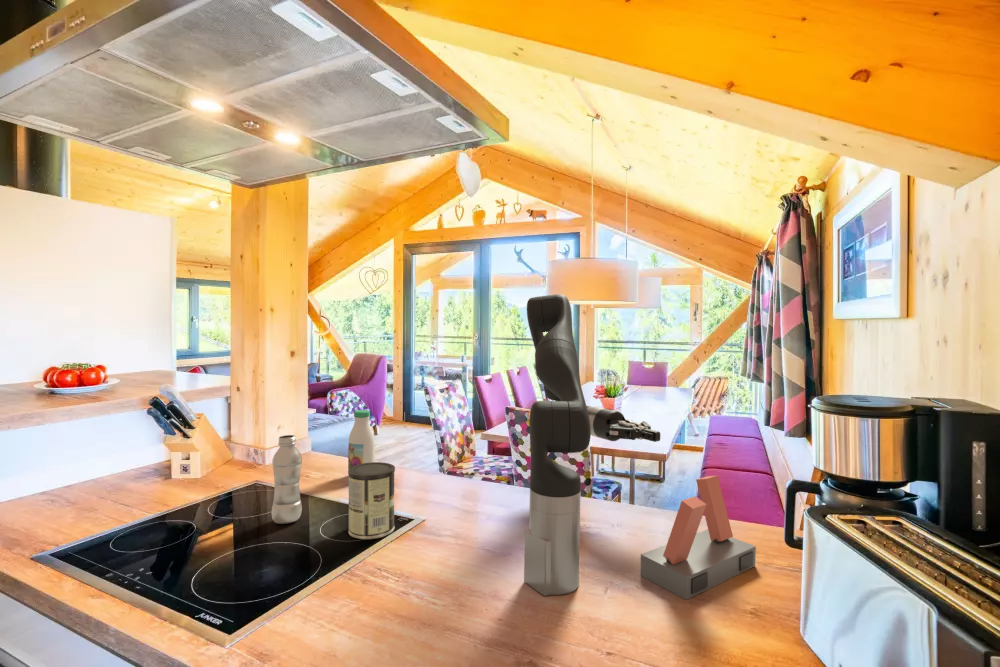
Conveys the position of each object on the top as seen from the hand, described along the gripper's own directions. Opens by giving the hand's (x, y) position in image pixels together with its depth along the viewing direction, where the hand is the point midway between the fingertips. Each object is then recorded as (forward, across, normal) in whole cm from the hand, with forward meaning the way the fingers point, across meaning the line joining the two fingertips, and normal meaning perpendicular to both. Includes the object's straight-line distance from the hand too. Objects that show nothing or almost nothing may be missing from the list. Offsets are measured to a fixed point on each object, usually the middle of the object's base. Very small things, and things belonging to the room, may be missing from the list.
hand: (658, 436), depth 114 cm
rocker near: (+16, -15, +17) cm, 28 cm away
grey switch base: (+16, -8, +22) cm, 28 cm away
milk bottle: (-75, -43, +22) cm, 89 cm away
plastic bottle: (-51, -69, +22) cm, 89 cm away
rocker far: (+16, 0, +17) cm, 24 cm away
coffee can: (-36, -54, +22) cm, 69 cm away
